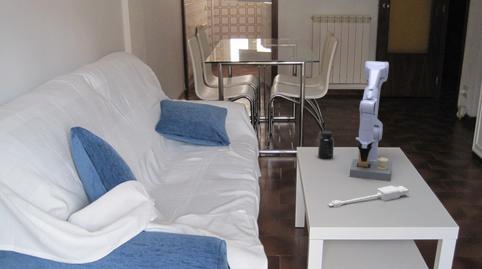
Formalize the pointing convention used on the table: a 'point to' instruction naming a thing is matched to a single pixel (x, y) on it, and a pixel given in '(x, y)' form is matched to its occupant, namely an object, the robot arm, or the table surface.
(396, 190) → the charging cable
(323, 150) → the supplement bottle
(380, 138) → the robot arm
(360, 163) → the brown wooden block
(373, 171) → the board with square hole
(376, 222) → the table surface
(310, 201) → the table surface
